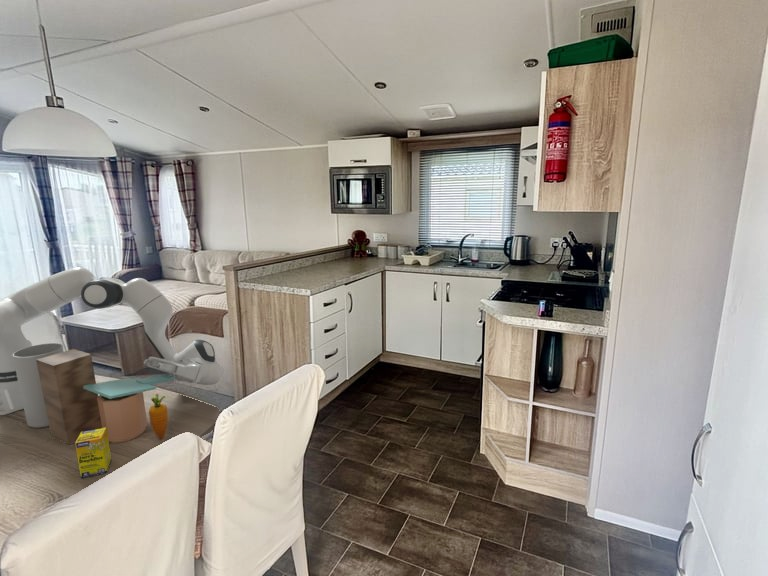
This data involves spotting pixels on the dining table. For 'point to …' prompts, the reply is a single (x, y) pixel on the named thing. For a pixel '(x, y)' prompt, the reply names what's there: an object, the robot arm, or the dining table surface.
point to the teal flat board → (126, 386)
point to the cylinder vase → (33, 381)
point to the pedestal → (69, 394)
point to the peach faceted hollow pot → (123, 416)
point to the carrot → (158, 417)
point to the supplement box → (93, 452)
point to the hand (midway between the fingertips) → (152, 363)
